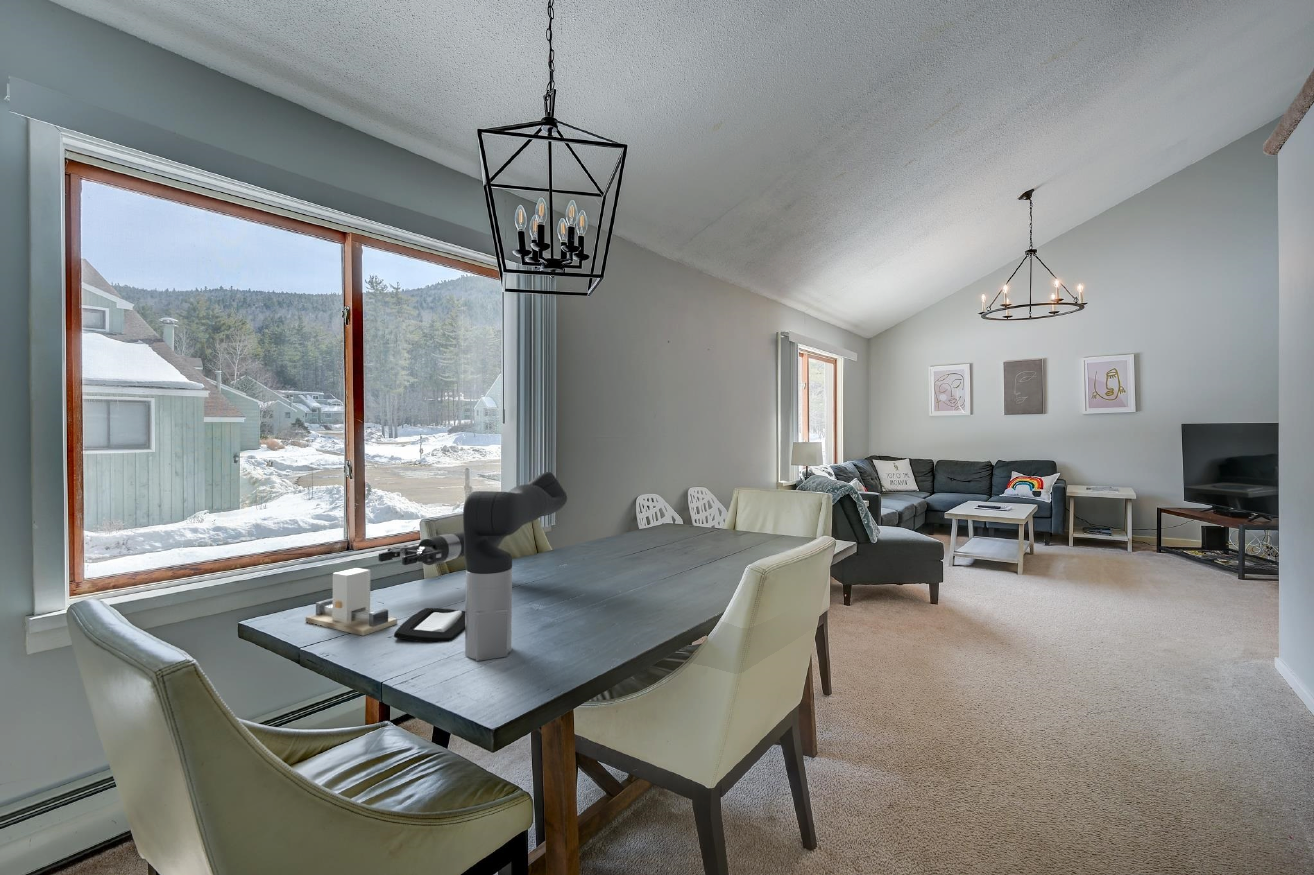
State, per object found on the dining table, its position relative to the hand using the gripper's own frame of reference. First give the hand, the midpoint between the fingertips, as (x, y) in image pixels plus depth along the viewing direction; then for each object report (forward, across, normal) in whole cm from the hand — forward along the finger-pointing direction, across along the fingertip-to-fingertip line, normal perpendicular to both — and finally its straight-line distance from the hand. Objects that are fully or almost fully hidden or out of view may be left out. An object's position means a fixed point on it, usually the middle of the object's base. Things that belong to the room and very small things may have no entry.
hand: (391, 559), depth 146 cm
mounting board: (+11, 0, -13) cm, 17 cm away
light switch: (+4, -20, -14) cm, 25 cm away
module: (+11, 0, -12) cm, 16 cm away
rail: (+11, -1, -12) cm, 16 cm away
